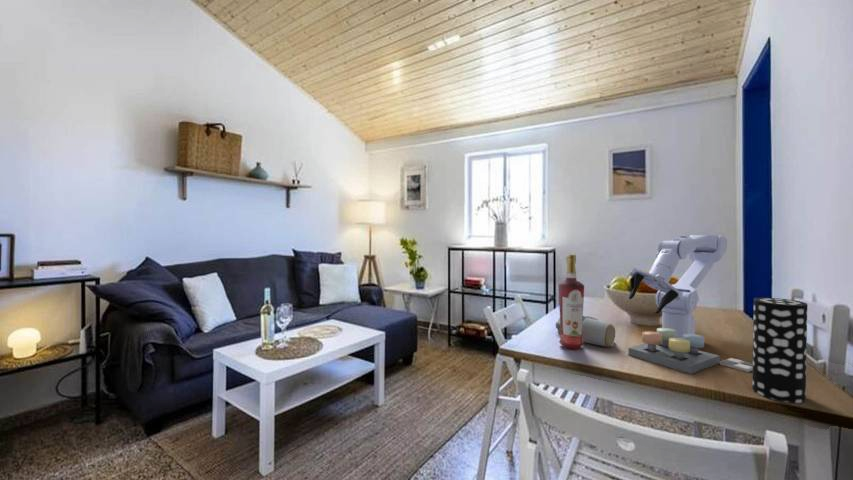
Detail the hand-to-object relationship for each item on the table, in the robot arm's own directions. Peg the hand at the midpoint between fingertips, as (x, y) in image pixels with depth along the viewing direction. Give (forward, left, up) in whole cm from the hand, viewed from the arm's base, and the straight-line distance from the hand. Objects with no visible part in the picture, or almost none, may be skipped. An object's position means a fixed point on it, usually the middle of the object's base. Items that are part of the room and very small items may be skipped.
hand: (644, 304), depth 108 cm
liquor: (+15, -13, -14) cm, 24 cm away
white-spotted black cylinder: (+3, +31, -14) cm, 34 cm away
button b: (-4, +11, -12) cm, 17 cm away
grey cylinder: (+5, -11, -14) cm, 19 cm away
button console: (0, +8, -14) cm, 16 cm away
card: (-9, +19, -14) cm, 25 cm away
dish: (+1, -22, -14) cm, 26 cm away
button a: (-4, +4, -12) cm, 13 cm away
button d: (+3, +11, -12) cm, 17 cm away
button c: (+3, +4, -12) cm, 13 cm away
